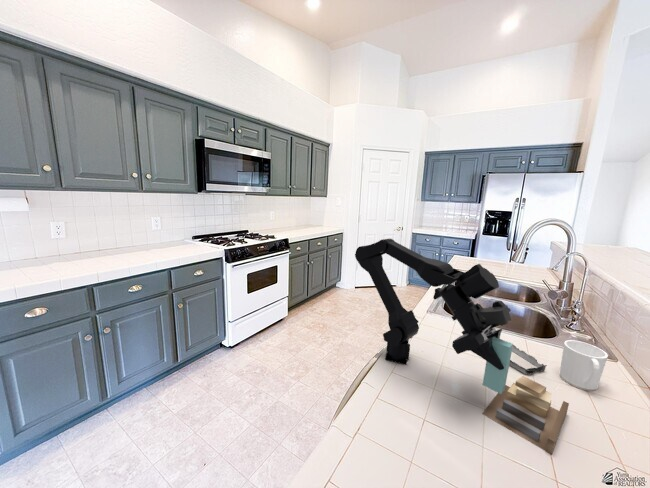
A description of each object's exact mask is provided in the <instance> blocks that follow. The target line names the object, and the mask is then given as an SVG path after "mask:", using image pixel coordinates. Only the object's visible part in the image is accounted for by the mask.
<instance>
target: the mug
mask: <svg viewBox="0 0 650 488" xmlns="http://www.w3.org/2000/svg"><path fill="white" fill-rule="evenodd" d="M608 358H609V355H608V353H607V352H606V351H604V350H603V349H601V348H600V347H598V346H595V345H593V344H590V343H587V342H584V341H580V340H576V339H575V340H574V339H569V340H568V339H567V340H565V341H564V342H563V349H562V355H561V362H560V367H559V376H560V378H561V380H562V381H564V382H565V383H567V384H568V385H570V386H572V387H575V388H577V389H580V390H584V391H588V392H593V391H596V390H598V387H599V383H600V382H601V378H602V375H603V372H604V370H605V369H604V368H605V366H606V363H607V360H608Z"/></svg>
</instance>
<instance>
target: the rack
mask: <svg viewBox="0 0 650 488" xmlns="http://www.w3.org/2000/svg"><path fill="white" fill-rule="evenodd" d="M569 404H570V402H566V401H564V400H563V401H562V404H561V406H560V409H556V408H554V407H552V406H551V405H552V392H550V391H547V386H544V384H543V385H542V384H541V383H539V382H536V381H535V380H532V379H531V378H529V377H527V376H524V375H522V376H520V377H519V378H518V379H516V381H515V382H512V384H511V385H510V386H509V385H505V390H504V391H503V392H502V394H499V393H498V392H496V395H494V397H493V399H492V400H491V401H490V402H489V403H488V405H487V406H486V408H485V409H484V410H483V412H482V413H481V415H483V416H485V417H487V418H488V419H490V420H492V421H493V422H495V423H497V424H499V425H500V426H502V427H503V428H505V429H507V430H509V431H511V432H512V433H514V434H516V435H517V436H519V437H521V438H522V439H524V440H526V441H527V442H530V443H531V444H533V445H534V446H536V447H537V448H539V449H541V450H543V451H545V452H547V453H548V454H550V455H552V454H553V452H554V449H555V447H556V444H557V441H558V438H559V436H560V433H561V430H562V427H563V424H564V421H565V419H566V417H567V414H568V409H569Z"/></svg>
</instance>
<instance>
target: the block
mask: <svg viewBox="0 0 650 488" xmlns="http://www.w3.org/2000/svg"><path fill="white" fill-rule="evenodd" d="M513 345H514V343H512V342H510V343H509V341H506V340H503V339H501V338H500V339H499V338H496V337H493V340H492V347H493V349H494V350H495V352H496V354H497V356H498V357H499V359H500V361H501V363H502V365H503V367H504V369H502V370H499V369H497V368H496V367H495V366H493V365H492V364H490V363H489V362H487V361H486V360H485V361H486V362H485V368H484V372H483V380H482V386H484V387H486V388H488V389H490V390H492V391H493V392H495V393H499V394H502V392H503V391H504V390H505V385H506V384H507V380H508V379H507V378H508V373H509V368H510V365H509V363H510V360H511V358H512V357H511V356H512V353H513V352H512V347H513Z"/></svg>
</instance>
